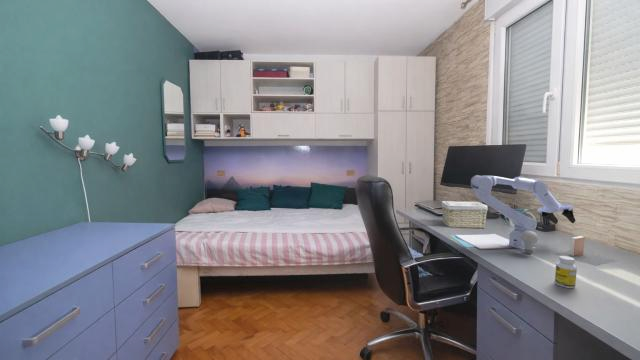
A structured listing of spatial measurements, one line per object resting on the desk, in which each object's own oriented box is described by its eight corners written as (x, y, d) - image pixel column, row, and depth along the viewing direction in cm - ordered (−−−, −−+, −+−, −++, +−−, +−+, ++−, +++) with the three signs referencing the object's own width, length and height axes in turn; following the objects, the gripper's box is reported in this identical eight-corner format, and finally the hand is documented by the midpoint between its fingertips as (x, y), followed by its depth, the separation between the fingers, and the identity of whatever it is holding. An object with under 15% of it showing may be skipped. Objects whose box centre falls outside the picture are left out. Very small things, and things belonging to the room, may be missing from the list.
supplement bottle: (550, 281, 100) (552, 255, 99) (564, 281, 101) (566, 254, 100) (565, 289, 95) (567, 260, 94) (579, 288, 95) (582, 260, 94)
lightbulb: (533, 253, 130) (535, 229, 129) (539, 257, 124) (540, 233, 123) (518, 251, 132) (519, 228, 131) (522, 255, 126) (524, 231, 125)
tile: (573, 256, 124) (575, 238, 123) (569, 255, 126) (570, 237, 125) (583, 254, 126) (584, 236, 126) (579, 253, 128) (580, 236, 127)
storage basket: (446, 227, 176) (447, 204, 175) (439, 221, 192) (440, 200, 191) (487, 229, 172) (489, 205, 171) (477, 223, 188) (478, 201, 187)
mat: (595, 267, 113) (595, 265, 113) (553, 254, 127) (553, 253, 127) (617, 261, 119) (618, 260, 119) (575, 250, 133) (575, 249, 133)
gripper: (567, 193, 130) (585, 215, 130) (536, 197, 144) (553, 217, 144) (560, 202, 128) (579, 225, 128) (529, 206, 141) (546, 227, 142)
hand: (565, 222), depth 136 cm, fingers open, 7 cm apart
